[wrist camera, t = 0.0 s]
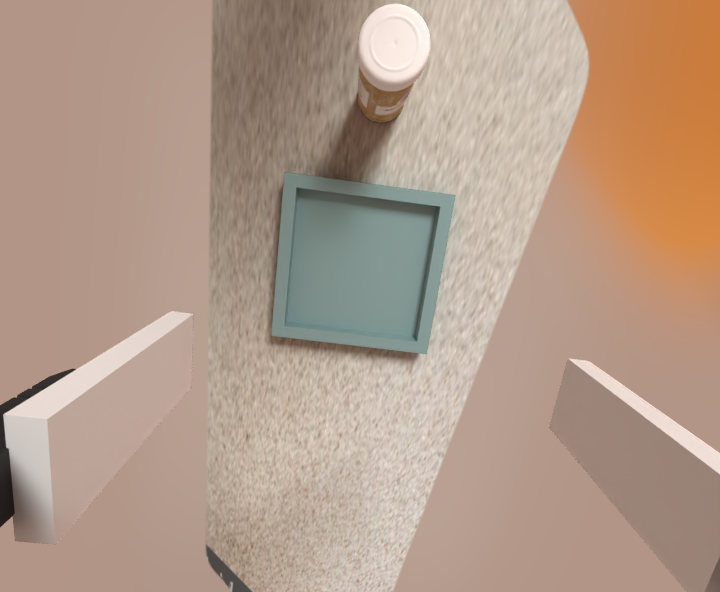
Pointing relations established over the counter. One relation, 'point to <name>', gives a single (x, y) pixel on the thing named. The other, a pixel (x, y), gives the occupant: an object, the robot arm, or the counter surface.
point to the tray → (359, 262)
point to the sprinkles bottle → (390, 59)
